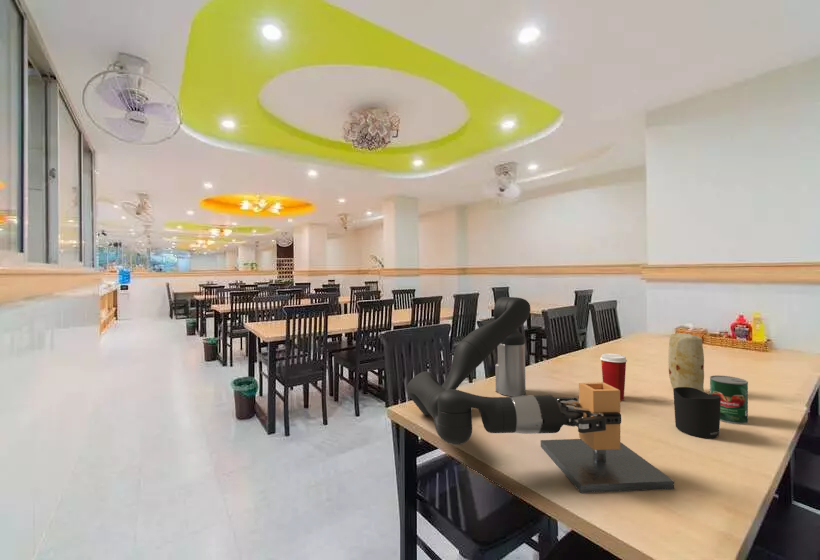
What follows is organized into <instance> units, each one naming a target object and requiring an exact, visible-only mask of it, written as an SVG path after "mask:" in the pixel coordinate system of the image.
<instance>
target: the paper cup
mask: <svg viewBox="0 0 820 560" xmlns="http://www.w3.org/2000/svg"><path fill="white" fill-rule="evenodd" d="M599 359H600V361H601V374H602V375H601V377H602V382H604V383H606V384H608V385H610V386H612V387H614V388H616V389H618V390H620V402H622V401H624V399H625V386H626V371H627V370H626V369H627V368H626V367H627V362H628V359H627V357H626V356H624V355H623V354H618V353H603V354H601V356H600V358H599Z"/></svg>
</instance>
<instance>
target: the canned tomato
mask: <svg viewBox="0 0 820 560" xmlns="http://www.w3.org/2000/svg"><path fill="white" fill-rule="evenodd" d="M709 390H710V391H709V394H718V395H720V396H721V404H720V422H724V423H727V424H733V425H747V424H748V423H749V409H748V408H749V397H748V396H749V394H748V393H749V381H748V380H746V379H744V378H740V377H735V376H730V375H729V376H728V375H718V374H717V375H710V376H709Z"/></svg>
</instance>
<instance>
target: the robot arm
mask: <svg viewBox="0 0 820 560" xmlns="http://www.w3.org/2000/svg"><path fill="white" fill-rule="evenodd" d="M530 315H531V304H530V303H529V301H528V300H526V299H524V298H522V297H517V296H516V297H514V296H501V297H499V298H498V299H497V300H496V301H495V304H494V307H493V321H491V322H489V323H486V324H485V325H482V326H480V327H478V328H476V329H474V330H472V331H471V332H469V333H468V334H467V335H466V336H465V337H464V338H463V339H462V340H460V342H458V344H457V345H456V346H455V349H454V351H453V353H454V354H453V356H452V359H451V360H452V361H451V364H450V369H449V372H448V375H447V376H446V378H445V380H444V382H443V383H442V384H440V382H439V381H438V380H437V379H436V377H435V376H434V375H433V373H431V372H429V371H427V370H426V371H421V372H419V373H418V374H416V375H415V376H413V377H412V378H411V379H410V380H409V381H408V383H407V385H406V392H407V395H408V397H409V398H410V399H411V400H412V402H413V403H414V404H415V405H416V407H417V408H418V410H420V412H421V413H422V414H423V415H424V416H431V417H432V418H433V423H434V427H435V430H436V433H437V435H438V436H439V438H440V439H441V440H443V441H444V442H446V443H448V444H450V445H462V444H465V443H466V442H467V441H469V439H470V438H471V436H472V434H473V416H472V413H473V412H472V409H477V410H478V411H479V414H480V417H481V422H482V425H483V428H484V430H486V433H487V432H488V433H490V434H513V433H514V434H521V435H523V434H524V435H525V434H527V435H528V434H529V435H532V434H534V435H535V434H557V433H559V431H561V428H562V427H563V426H568V427H573V428H575V427H577V432H578V433H579V432H580V433H588V432H597V431H605V430H606V424H620V425H621V424H622V414H621V412H620V413H618V412H602V413H601V412H592V411H590V410H589V409H587V408H579V405H580V403H579V398H577V397H565V396H554V395H551V394H529V395H526V341H525V340H526V339H525V335H524V334H523V333H521V332H520V331H519V330H518V328H520V327H521V326H522V325H523V324H525V322H527V320H528V318H529V317H530ZM496 348H497V363H496V364H495V366H494V367H495V368H494V369H495V374H494V375H495V392H498V393H499V394H501V395H503V396H495V397H494V396H492V397H491V396H482V395H479V394H474V393H469V392H466V391H462V390H459V389H458V387H459V386H460V385H461V384H462V383H463V382H464V381H465V380H466V378H468V377H469V376H470V375H471V374H472V373H473V372H474V371H475V370H476V369H477V368H478V367H479V366H480V365H481V364H482V363H483V362H484V361H485V360H486V359H487V358H488V357H489V356H490V355H491V354H492V352H493V351H495V349H496ZM583 413H586V417H585V418H584V414H583ZM591 416H594V417H591Z"/></svg>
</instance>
